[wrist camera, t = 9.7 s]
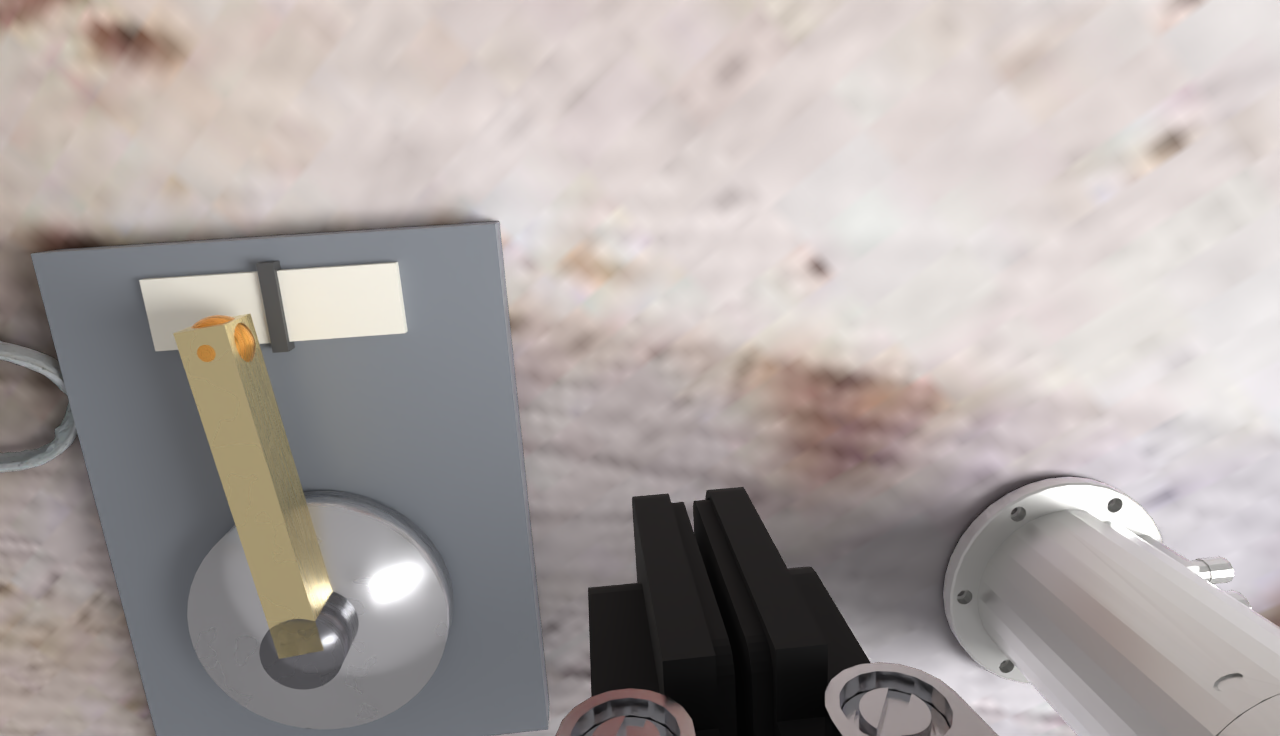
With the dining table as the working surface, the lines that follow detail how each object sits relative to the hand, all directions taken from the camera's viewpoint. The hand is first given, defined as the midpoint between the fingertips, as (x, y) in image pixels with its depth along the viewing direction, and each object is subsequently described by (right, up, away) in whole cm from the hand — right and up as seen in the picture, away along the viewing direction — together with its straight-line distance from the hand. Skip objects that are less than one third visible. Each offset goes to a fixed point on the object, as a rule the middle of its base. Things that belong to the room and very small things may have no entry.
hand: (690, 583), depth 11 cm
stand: (-17, -4, +28) cm, 32 cm away
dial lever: (-17, -4, +25) cm, 31 cm away
